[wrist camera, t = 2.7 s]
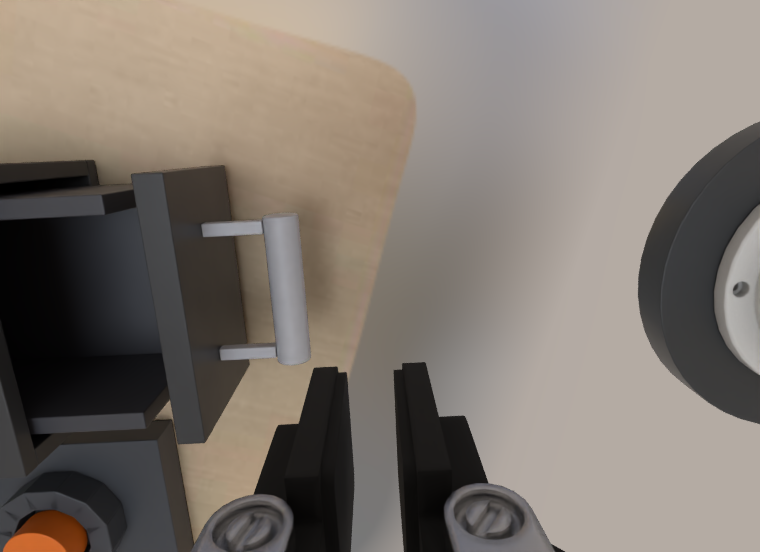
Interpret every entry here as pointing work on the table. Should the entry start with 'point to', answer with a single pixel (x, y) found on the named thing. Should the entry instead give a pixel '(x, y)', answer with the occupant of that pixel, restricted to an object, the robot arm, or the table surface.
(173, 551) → the control pad
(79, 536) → the button
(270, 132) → the table surface
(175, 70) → the table surface
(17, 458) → the drawer cabinet casing
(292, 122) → the table surface
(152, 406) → the drawer with pull handle
